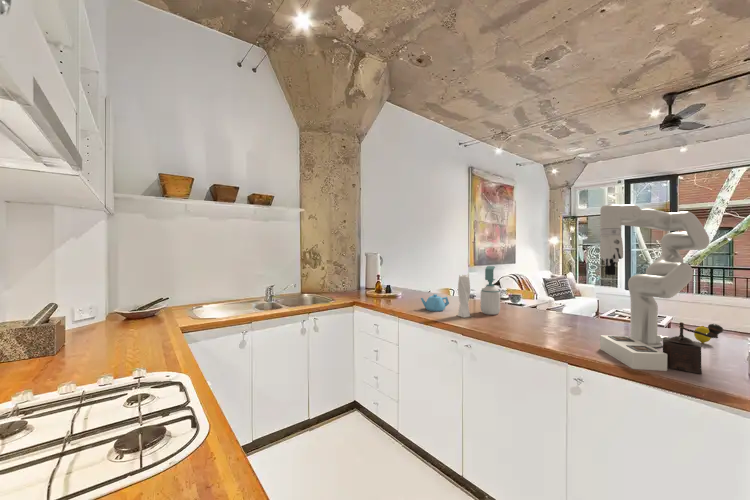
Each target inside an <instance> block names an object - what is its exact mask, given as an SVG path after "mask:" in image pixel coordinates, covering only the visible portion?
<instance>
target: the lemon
mask: <svg viewBox="0 0 750 500" xmlns="http://www.w3.org/2000/svg"><path fill="white" fill-rule="evenodd" d="M694 330H695V331H698V332H702V333H705V334H708V333H709V329H708V327H706V326H704V325H701V326H698V327H696V328H695V329H694ZM693 335H694V337H695V338H694V339H696V341H697V342H699V343H700V344H705V343H707V342H710V341H711V339H712V338H710V337H706V336H704V335H701V334H697V333H693Z"/></svg>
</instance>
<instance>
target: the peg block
mask: <svg viewBox="0 0 750 500" xmlns="http://www.w3.org/2000/svg"><path fill="white" fill-rule="evenodd" d="M615 337H622V338H626V339H627V340H617V339H615ZM634 347H644V348H647V349H648V350H637V349H635V348H634ZM599 349H600V350H601V351H603V352H604V353H606V354H607V355H609V356H611V357H612V358H614V359H616V360H618V361H619V362H621V363H623V365H626V366H627V367H629V368H630V369H632V370H646V371H647V370H648V371H662V372H663V371H665V372H667V371H668V368H667V354H666V353H664V352H663V351H661V350H659V349H657V348H656V347H651V346H648V345H646V344H644V343H642V342H640V341H638V340H635V339H633V338H631V337H630V335H629V336H628V335H607V334H606V335H603V334H600V335H599Z"/></svg>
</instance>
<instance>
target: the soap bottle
mask: <svg viewBox="0 0 750 500" xmlns="http://www.w3.org/2000/svg"><path fill="white" fill-rule="evenodd" d="M495 266H496V265H495ZM495 266H493V265H487V266H486V267H485V269H484V270H485V271H484V276H485V277H484V279H485V281H487V282H488V283H487V284H486V286H485V287H483V288H482V289H481V290H480V311H481V312H482V313H483V314H485V315H489V316H494V315H495V316H496V315H498V314H499V313H500V312H501V292H500V290H499V289H498V288H497V287H496V286H495V284H493V283H494V281H495V280H496V278H494V270H495V268H496V267H495Z"/></svg>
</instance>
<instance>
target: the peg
mask: <svg viewBox="0 0 750 500" xmlns="http://www.w3.org/2000/svg"><path fill="white" fill-rule="evenodd" d="M634 348H635V349H637V350H648V349H647V348H644V347H634Z"/></svg>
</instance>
